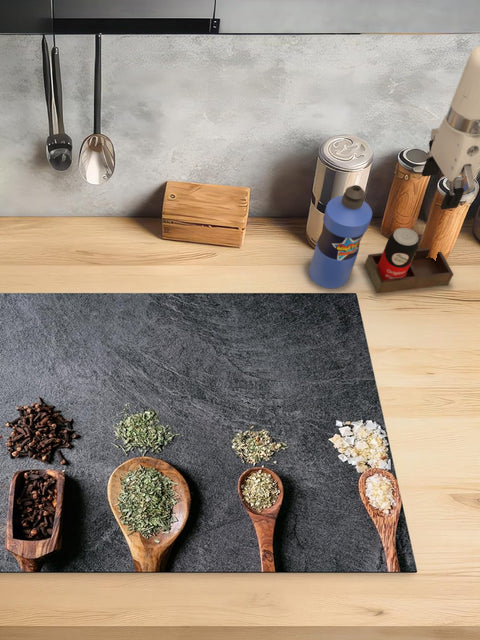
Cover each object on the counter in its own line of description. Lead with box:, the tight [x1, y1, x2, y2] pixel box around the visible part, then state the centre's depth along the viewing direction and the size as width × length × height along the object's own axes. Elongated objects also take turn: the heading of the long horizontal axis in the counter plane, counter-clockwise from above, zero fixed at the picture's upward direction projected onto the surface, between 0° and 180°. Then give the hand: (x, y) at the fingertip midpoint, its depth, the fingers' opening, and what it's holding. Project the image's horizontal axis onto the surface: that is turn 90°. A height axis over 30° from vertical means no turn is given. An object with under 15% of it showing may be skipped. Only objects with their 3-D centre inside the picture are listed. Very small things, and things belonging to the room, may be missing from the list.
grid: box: [364, 247, 454, 294], centre depth 164 cm, size 16×9×4 cm, turn 98°
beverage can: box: [377, 227, 420, 280], centre depth 160 cm, size 6×6×12 cm
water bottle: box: [308, 184, 373, 290], centre depth 156 cm, size 9×9×25 cm
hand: (438, 190), depth 144 cm, fingers open, 9 cm apart
